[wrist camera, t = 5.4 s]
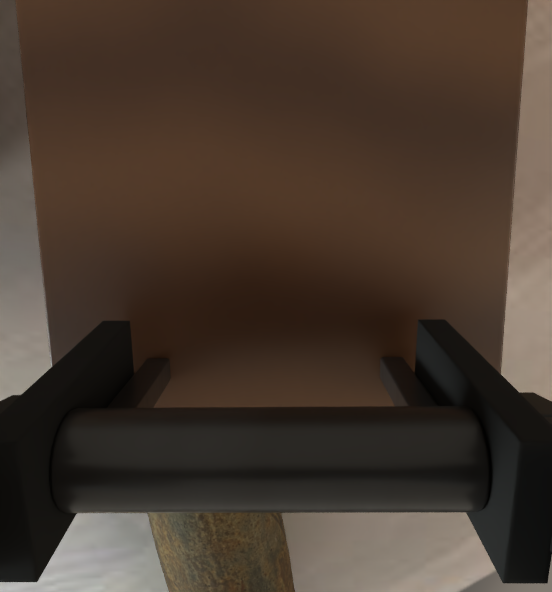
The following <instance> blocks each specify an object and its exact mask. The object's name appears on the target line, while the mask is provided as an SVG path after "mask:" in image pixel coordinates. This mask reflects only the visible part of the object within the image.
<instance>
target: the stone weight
mask: <svg viewBox="0 0 552 592" xmlns="http://www.w3.org/2000/svg"><path fill="white" fill-rule="evenodd" d="M148 516H149V521H150V526H151V529H152V533H153V537H154V541H155V546H156V549H157V553H158V556H159V559H160V563H161V567H162V570H163V573H164V576H165V580H166V583H167V586H168V589H169V592H295V590H294V585H293V577H292V571H291V563H290V557H289V551H288V546H287V541H286V535H285V529H284V525H283V520H282V515H281V513H148Z"/></svg>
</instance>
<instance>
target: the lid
mask: <svg viewBox="0 0 552 592" xmlns="http://www.w3.org/2000/svg"><path fill="white" fill-rule="evenodd" d="M15 1H16V11H17V21H18V32H19V42H20V52H21V62H22V73H23V83H24V93H25V103H26V114H27V124H28V134H29V144H30V154H31V165H32V175H33V185H34V195H35V206H36V216H37V226H38V236H39V247H40V257H41V267H42V277H43V287H44V298H45V308H46V318H47V328H48V339H49V349H50V359H51V368H52V367H53V366H54V365H55V364H56V363H57V362H58V361H59V360H60V359H61V358H63V357H64V356H65V355H66V354H67V353H68V352H69V351H70V350H71V349H72V348H74V347H75V346H76V345H77V344H78V343H79V342H80V341H81V340H82V339H83V338H85V337H86V336H87V335H88V334H89V333H90V332H91V331H92V330H93V329H94V328H96V327H97V326H98V325H99V324H100V323H101V322H102V321H130V328H131V340H132V353H133V365H134V375H133V376H132V378H131V379H130V380H129V381H128V383H127V384H126V385H125V386H124V387H123V389H122V390H121V391H120V392H119V393H118V395H117V396H116V397H115V398H114V400H113V401H112V402H111V403H110V404H109V406H108V407H107V408H76V409H73V410H71V411H70V412H69V413H67V415H66V416H65V417H64V419H63V420H62V422H61V424H60V426H59V428H58V431H57V434H56V437H55V440H54V444H53V449H52V455H51V464H50V485H51V492H52V497H53V500H54V503H55V505H56V506H57V508H58V509H59V510H60V511H62V512H65V513H346V512H478V511H480V510H482V509H483V508H484V507H485V505H486V503H487V500H488V497H489V491H490V479H491V468H490V456H489V450H488V445H487V440H486V436H485V433H484V430H483V427H482V424H481V422H480V420H479V418H478V416H477V414H476V413H475V412H474V411H473V410H472V409H471V408H469V407H467V406H438V405H437V403H436V402H435V400H434V399H433V398H432V396H431V395H430V394H429V392H428V391H427V389H426V388H425V387H424V385H423V384H422V383H421V381H420V380H419V378H418V377H417V376H416V374H415V359H416V343H417V327H418V319H445V320H446V321H447V322H448V323H449V324H450V325H451V326H452V327H453V328H454V329H455V330H456V331H457V332H458V333H459V334H460V335H461V336H463V337H464V338H465V339H466V340H467V341H468V342H469V343H470V344H471V345H472V346H473V347H474V348H475V349H476V350H477V351H478V352H479V353H480V354H481V355H482V356H483V357H484V358H485V359H486V360H487V361H488V362H489V363H490V364H491V365H492V366H493V367H494V368H495V369H496V370H497V371H498V372H499V373H500V374H501V362H502V348H503V334H504V321H505V307H506V293H507V280H508V266H509V252H510V239H511V225H512V211H513V198H514V184H515V170H516V157H517V143H518V130H519V116H520V102H521V89H522V75H523V61H524V48H525V34H526V20H527V7H528V0H15Z"/></svg>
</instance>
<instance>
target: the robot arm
mask: <svg viewBox="0 0 552 592" xmlns="http://www.w3.org/2000/svg"><path fill="white" fill-rule="evenodd" d="M415 374H416V376H417V377H418V378H419V380H420V381H421V383H422V384H423V385H424V387H425V388H426V389H427V391H428V392H429V394H430V395H431V396H432V398H433V399H434V400H435V402H436V403H437V405H438V406H467V407H469V408H471V409H472V410H473V411H474V412H475V413H476V414H477V416H478V418H479V420H480V422H481V424H482V427H483V430H484V433H485V436H486V440H487V445H488V450H489V456H490V468H491V479H490V491H489V497H488V500H487V503H486V505H485V507H484V508H483V509H482V510H480V511H478V512H466V513H467V515H468V517H469V518H470V520H471V522H472V524H473V526H474V528H475V530H476V532H477V534H478V536H479V538H480V540H481V542H482V544H483V545H484V547H485V549H486V551H487V553H488V555H489V557H490V559H491V561H492V563H493V565H494V567H495V569H496V570H497V572H498V574H499V576H500V578H501V580H502V582H503V583H547V582H548V575H549V568H550V562H551V555H552V402H551V401H549V400H547V399H545V398H543V397H541V396H539V395H537V394H535V393H519V392H518V391H517V390H516V389H515V388H514V387H513V386H512V385H511V384H510V383H509V382H508V381H507V380H506V379H505V378H504V377H503V376H502V375H501V374H500V373H499V372H498V371H497V370H496V369H495V368H494V367H493V366H492V365H491V364H490V363H489V362H488V361H487V360H486V359H485V358H484V357H483V356H482V355H481V354H480V353H479V352H478V351H477V350H476V349H475V348H474V347H473V346H472V345H471V344H470V343H469V342H468V341H467V340H466V339H465V338H464V337H463V336H461V335H460V334H459V333H458V332H457V331H456V330H455V329H454V328H453V327H452V326H451V325H450V324H449V323H448V322H447V321H446V320H445V319H418V327H417V343H416V359H415ZM133 375H134V365H133V353H132V340H131V328H130V321H102V322H101V323H100V324H99V325H98V326H97V327H96V328H94V329H93V330H92V331H91V332H90V333H89V334H88V335H87V336H86V337H85V338H83V339H82V340H81V341H80V342H79V343H78V344H77V345H76V346H75V347H74V348H72V349H71V350H70V351H69V352H68V353H67V354H66V355H65V356H64V357H63V358H61V359H60V360H59V361H58V362H57V363H56V364H55V365H54V366H53V367H52V368H50V369H49V370H48V371H47V372H46V373H45V374H44V375H43V376H42V377H41V378H39V379H38V380H37V381H36V382H35V383H34V384H33V385H32V386H31V387H30V388H28V389H27V390H26V391H25V392H24V393H23V394H22V395H12V396H10V397H8V398H6V399H4V400H2V401H0V582H37V581H38V579H39V578H40V576H41V574H42V573H43V571H44V569H45V567H46V566H47V564H48V562H49V560H50V559H51V557H52V555H53V554H54V552H55V550H56V548H57V547H58V545H59V543H60V541H61V540H62V538H63V536H64V534H65V533H66V531H67V529H68V528H69V526H70V524H71V522H72V521H73V519H74V517H75V515H76V514H77V513H65V512H62V511H60V510H59V509H58V508H57V506H56V505H55V503H54V500H53V497H52V492H51V485H50V464H51V455H52V449H53V444H54V440H55V437H56V434H57V431H58V428H59V426H60V424H61V422H62V420H63V419H64V417H65V416H66V415H67V413H69V412H70V411H71V410H73V409H76V408H107V407H108V406H109V404H110V403H111V402H112V401H113V400H114V398H115V397H116V396H117V395H118V393H119V392H120V391H121V390H122V389H123V387H124V386H125V385H126V384H127V383H128V381H129V380H130V379H131V378H132V376H133Z"/></svg>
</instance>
